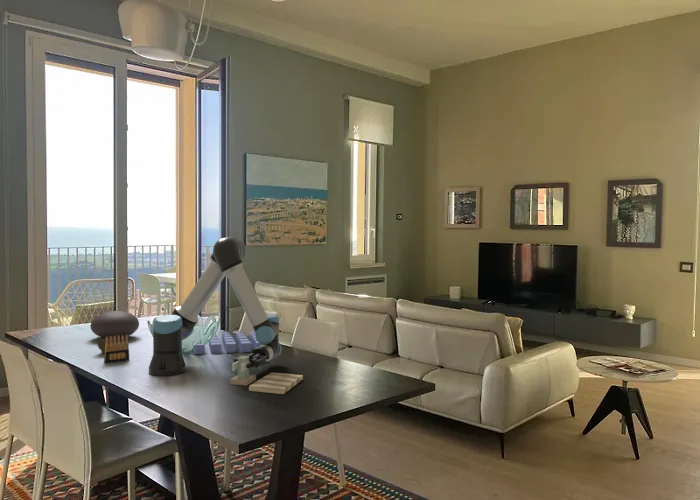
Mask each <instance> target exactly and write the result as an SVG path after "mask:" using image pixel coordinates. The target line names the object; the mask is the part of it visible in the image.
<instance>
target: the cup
mask: <svg viewBox="0 0 700 500" xmlns="http://www.w3.org/2000/svg"><path fill="white" fill-rule="evenodd" d="M106 337H107V336H106ZM106 337H105V336H103V337H102V336H101V337H99V336H97V337H96V343H97V348H98V349H99V351H100V353H101V354H102V353H105V341H106ZM111 337H112V344H113V340H114V339H113V338H114V337H113V336H111ZM109 340H110V337H108V345H109Z"/></svg>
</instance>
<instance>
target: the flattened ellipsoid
mask: <svg viewBox="0 0 700 500" xmlns="http://www.w3.org/2000/svg"><path fill="white" fill-rule="evenodd" d="M89 326H90V330H91V332H92V333H93V334H94V335H96V336H97V337H101V336H102V337H103V336H105V337H106V336H107V337H110V336H113V337H114V336H116V340H117V339H118V335H119V336H120V339H121V338H122V335H123V336H124V338H126V334H127V336H128V337H129V336H131V335H133V334H134V333H135V332H137V330H138V329H139V326H140V320H139V318H137V316H135V315H134V314H132V313H131V312H128V311H123V310H111V311H105V312H102V313H100V314H98V315H97V316H95V317H94V318H92V320H91V322H90V325H89ZM113 340H114V338H113Z"/></svg>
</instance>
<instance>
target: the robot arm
mask: <svg viewBox="0 0 700 500" xmlns="http://www.w3.org/2000/svg"><path fill="white" fill-rule="evenodd" d="M244 243H245V242H244V241H242V239H239V238H237V237H236V236H227V237H222V238H220V239H218V240H217V241H216V242H215V243H214V245H213V248H212V254H211V255H210V257H209V258H210V263H209V265H208V266H207V267H206V269H205V270H204V272H203V273H202V275H201V276H200V278H199V279H198V281H197V282H195V283H196V284H195V285H194V286H193V288H192V289H191V291H190V292H189V294H188V295H187V296H186V298H185V299H184V301H183V303H182V304H181V305H179V306H178V305H177V306H175V307H174V309H173V310H172V312H171V314H165V315H161V316H157V317H156V318H154V320H153V325H152V329H153V330H152V331H153V332H152V337H153V339H152V341H153V342H152V343H153V345H152V347H153V350H152V352H153V354H152V357H151V360H150V362H149V366H148V374H150V375H152V376H156V377H157V376H158V377H159V376H161V377H164V376H165V377H169V376H176V375H181V374H183V373H185V372H187V371H186V370H187V364H186V362H185V359H184V356H183V340H186V339H187V338H189V337H190V336H191V335H192V333H193V331H194V329H195V328H194V327H196V325H197V323H198V322H199V317H198V316H199V314H200V313H201V312H202V310H203V308H204V307H205V306H206V305H207V302H209V300H210V298H211V297H212V295H213V294H214V293H215V291H216V290H217V288H218V287H219V285H220V284H221V282H223V279H224V278H225V277H227V279H228V281H229V283H230V285H231V288H232V289H233V291H234V293H235V295H236V298H237V299H238V301H239V303H240V305H241V307H242V310H243V311H244V312H245V314H246V317H247V319H248V321H249V322H250V325H251V326H252V329H253V331H255V333H256V339H257V341H258V342H259V343H261V344H262V345H261V346H259V347H257V348H254V349H251V352H249V354H247V355H246V356H248V357H249V361H247V362H245V363H243V364H241V371H244V370H246V369H248V368H249V369H250V368H254V367H255V368H260V367H261V366H264V365H266V364H269V363H270V361H271V360H273V359H275V358H278V357H279V355H281V353H282V350H283V349H282V344H281V343H280V342H279V341H280V339H279V336H280V335H279V334H280V331H279V330H280V329H279V328H280V319H279V316H278V315H267V313H266V311H265V309H264V307H263V305H262V303H261V301H260V299H259V296H258V295H257V292H256V291H255V289H254V287H253V285H252V283H251V281H250V279H249V277H248V276H247V273H246V271H245V269H244V268H243V266H244V261H243V260H244V258H245V256H246V251H247V249H246V246H245V244H244ZM241 356H245V355H244V354H243V353H241V354H240V355H239V356H237V357H236V358H234V359H233V363H232V364H231V368H232V369H231V370H232V372H233V371H236V370H238V358H239V357H241Z"/></svg>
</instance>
